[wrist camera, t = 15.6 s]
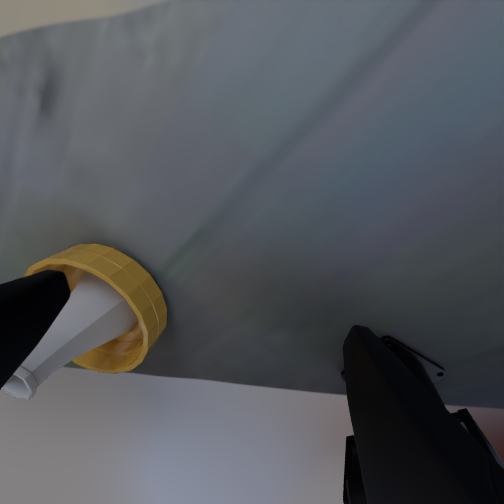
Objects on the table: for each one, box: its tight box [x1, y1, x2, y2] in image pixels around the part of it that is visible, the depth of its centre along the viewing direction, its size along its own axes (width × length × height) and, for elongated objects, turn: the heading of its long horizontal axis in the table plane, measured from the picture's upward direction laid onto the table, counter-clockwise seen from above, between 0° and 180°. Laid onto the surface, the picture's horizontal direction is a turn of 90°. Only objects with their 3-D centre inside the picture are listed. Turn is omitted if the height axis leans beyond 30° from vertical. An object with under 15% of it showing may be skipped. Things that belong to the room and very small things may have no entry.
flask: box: [1, 273, 138, 400], centre depth 22 cm, size 7×7×10 cm
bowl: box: [23, 243, 167, 374], centre depth 25 cm, size 13×13×4 cm
